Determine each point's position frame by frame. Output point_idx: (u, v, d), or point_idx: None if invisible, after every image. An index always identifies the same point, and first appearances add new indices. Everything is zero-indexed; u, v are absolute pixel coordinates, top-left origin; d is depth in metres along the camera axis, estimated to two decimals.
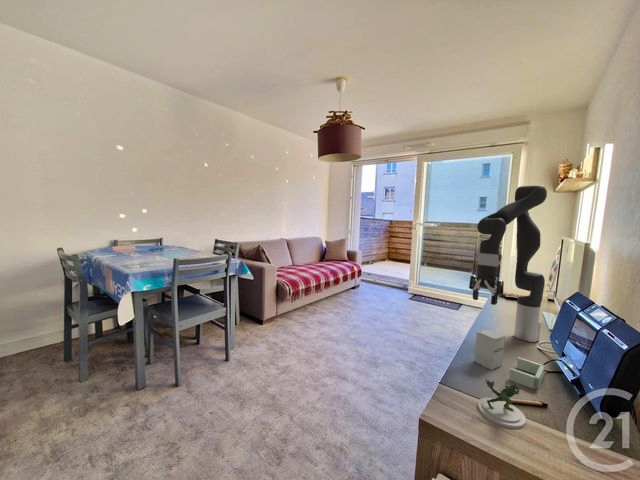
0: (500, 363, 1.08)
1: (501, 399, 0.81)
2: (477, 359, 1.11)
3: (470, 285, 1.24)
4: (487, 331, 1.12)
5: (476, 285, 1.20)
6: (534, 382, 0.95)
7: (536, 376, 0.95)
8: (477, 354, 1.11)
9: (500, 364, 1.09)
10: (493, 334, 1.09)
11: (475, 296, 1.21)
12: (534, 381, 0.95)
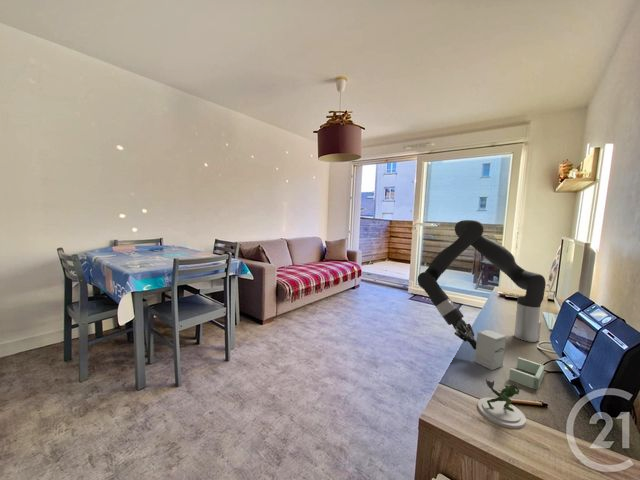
0: (500, 364, 1.08)
1: (501, 399, 0.81)
2: (478, 359, 1.11)
3: None
4: (488, 331, 1.12)
5: None
6: (534, 382, 0.95)
7: (536, 376, 0.95)
8: (478, 354, 1.11)
9: (501, 364, 1.08)
10: (493, 334, 1.09)
11: None
12: (534, 381, 0.95)
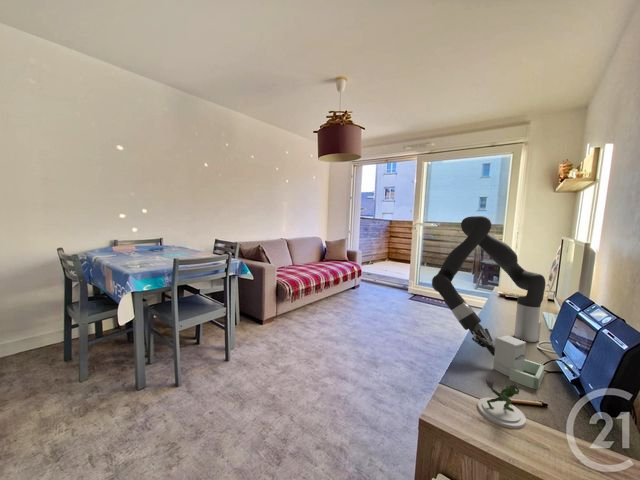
0: (521, 371, 1.03)
1: (501, 399, 0.81)
2: (496, 366, 1.06)
3: None
4: (507, 337, 1.07)
5: None
6: (534, 382, 0.95)
7: (536, 376, 0.95)
8: (496, 361, 1.06)
9: None
10: (513, 340, 1.04)
11: None
12: (534, 381, 0.95)
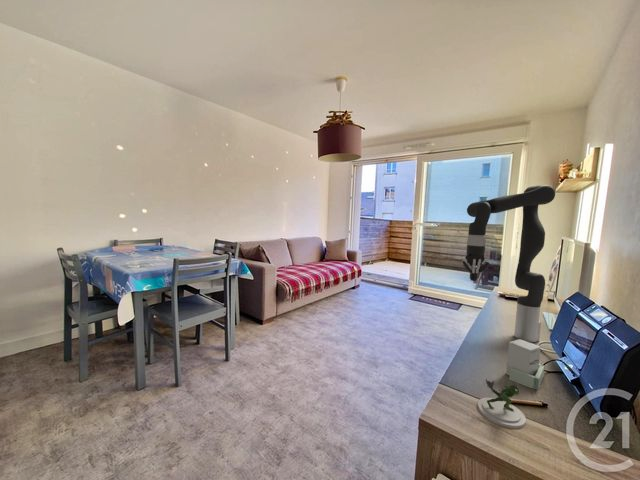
0: None
1: (501, 399, 0.81)
2: (509, 371, 1.02)
3: None
4: (520, 341, 1.03)
5: None
6: (534, 382, 0.95)
7: (536, 376, 0.95)
8: (509, 366, 1.02)
9: None
10: (527, 344, 1.01)
11: None
12: (534, 381, 0.95)
